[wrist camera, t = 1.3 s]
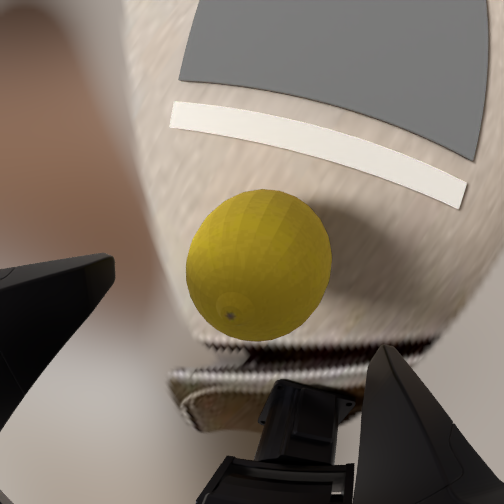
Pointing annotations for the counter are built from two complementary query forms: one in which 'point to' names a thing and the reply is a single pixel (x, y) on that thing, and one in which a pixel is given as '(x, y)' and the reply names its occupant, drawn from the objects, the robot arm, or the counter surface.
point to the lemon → (259, 265)
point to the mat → (354, 58)
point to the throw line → (320, 146)
